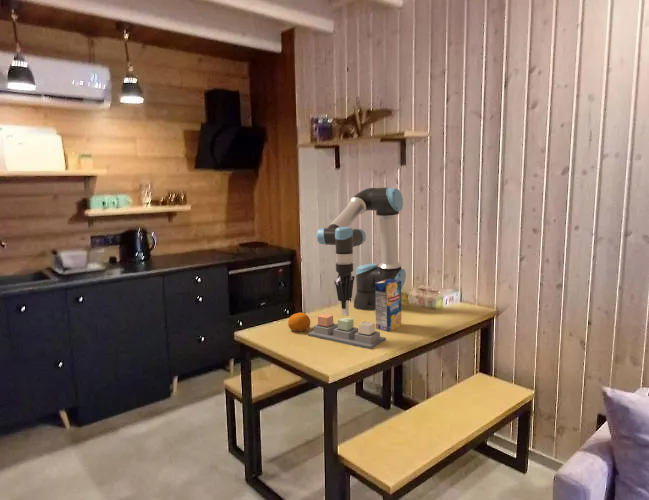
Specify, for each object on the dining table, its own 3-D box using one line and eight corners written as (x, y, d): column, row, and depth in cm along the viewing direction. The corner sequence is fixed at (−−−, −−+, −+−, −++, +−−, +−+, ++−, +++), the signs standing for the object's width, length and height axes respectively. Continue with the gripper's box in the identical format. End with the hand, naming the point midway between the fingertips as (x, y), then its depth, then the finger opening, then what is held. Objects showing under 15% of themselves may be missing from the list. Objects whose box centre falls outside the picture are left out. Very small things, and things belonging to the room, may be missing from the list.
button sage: (344, 325, 220) (344, 317, 220) (353, 327, 218) (353, 318, 217) (338, 328, 216) (337, 320, 216) (347, 330, 214) (347, 321, 213)
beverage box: (375, 328, 230) (375, 282, 226) (389, 323, 237) (389, 278, 234) (387, 331, 225) (386, 285, 221) (401, 325, 232) (401, 280, 229)
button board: (324, 327, 233) (324, 319, 232) (385, 340, 213) (385, 331, 213) (307, 335, 222) (307, 326, 221) (370, 349, 203) (370, 339, 202)
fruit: (286, 327, 235) (286, 311, 233) (308, 325, 237) (307, 309, 235) (289, 334, 225) (289, 317, 223) (312, 332, 227) (311, 315, 225)
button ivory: (365, 329, 214) (365, 321, 213) (375, 331, 211) (375, 322, 211) (359, 333, 210) (359, 324, 209) (369, 335, 207) (369, 326, 207)
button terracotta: (324, 322, 227) (324, 313, 226) (333, 323, 224) (333, 315, 223) (318, 324, 223) (317, 316, 222) (327, 326, 220) (326, 318, 219)
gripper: (345, 259, 220) (346, 310, 223) (328, 264, 209) (329, 317, 213) (359, 261, 215) (360, 312, 219) (343, 266, 205) (344, 320, 209)
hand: (345, 315), depth 216 cm, fingers closed
